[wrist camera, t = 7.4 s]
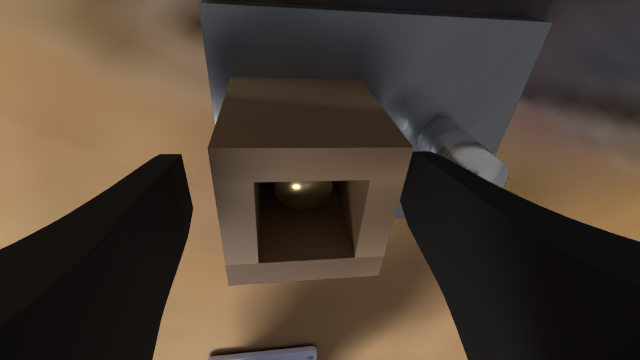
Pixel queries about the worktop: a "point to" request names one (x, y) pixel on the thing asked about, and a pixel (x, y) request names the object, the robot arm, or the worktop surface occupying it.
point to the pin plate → (386, 71)
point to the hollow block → (305, 178)
